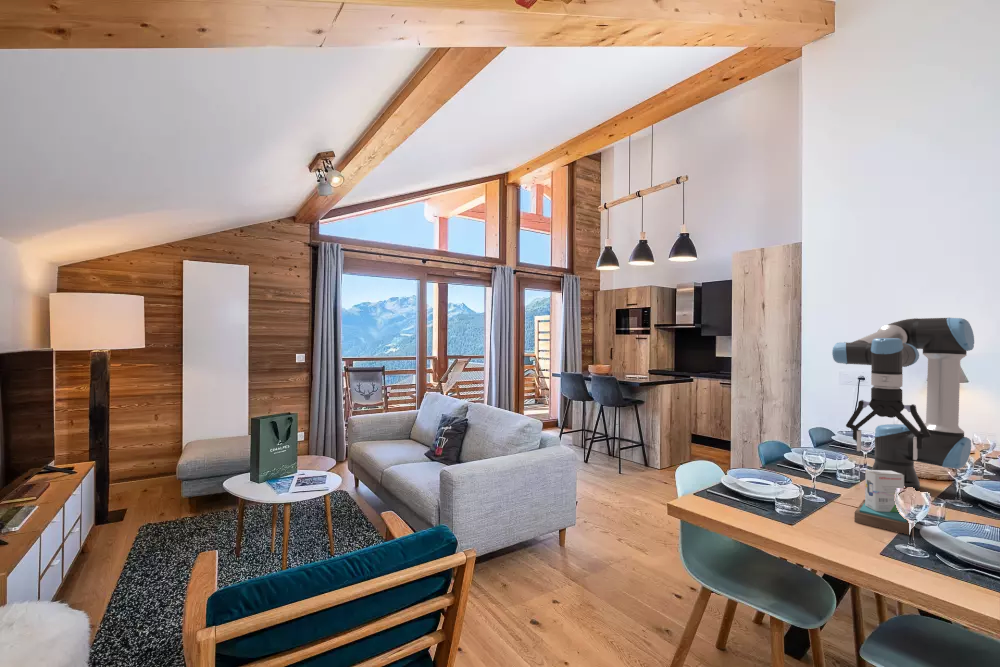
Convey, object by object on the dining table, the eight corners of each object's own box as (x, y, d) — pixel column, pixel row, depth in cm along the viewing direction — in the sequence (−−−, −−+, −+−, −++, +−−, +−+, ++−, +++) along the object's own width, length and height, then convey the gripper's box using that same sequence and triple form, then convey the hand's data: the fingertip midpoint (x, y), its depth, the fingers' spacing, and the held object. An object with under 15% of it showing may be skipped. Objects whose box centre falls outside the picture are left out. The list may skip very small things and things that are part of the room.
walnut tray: (863, 508, 155) (863, 497, 155) (915, 520, 146) (915, 508, 146) (854, 521, 144) (854, 510, 144) (909, 535, 135) (910, 523, 135)
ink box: (876, 512, 143) (876, 473, 143) (864, 505, 148) (864, 468, 148) (905, 512, 142) (905, 474, 142) (892, 506, 147) (892, 469, 147)
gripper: (835, 384, 151) (835, 449, 151) (940, 392, 133) (940, 465, 133) (840, 382, 156) (840, 445, 156) (942, 389, 138) (941, 460, 138)
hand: (886, 454), depth 145 cm, fingers open, 13 cm apart
